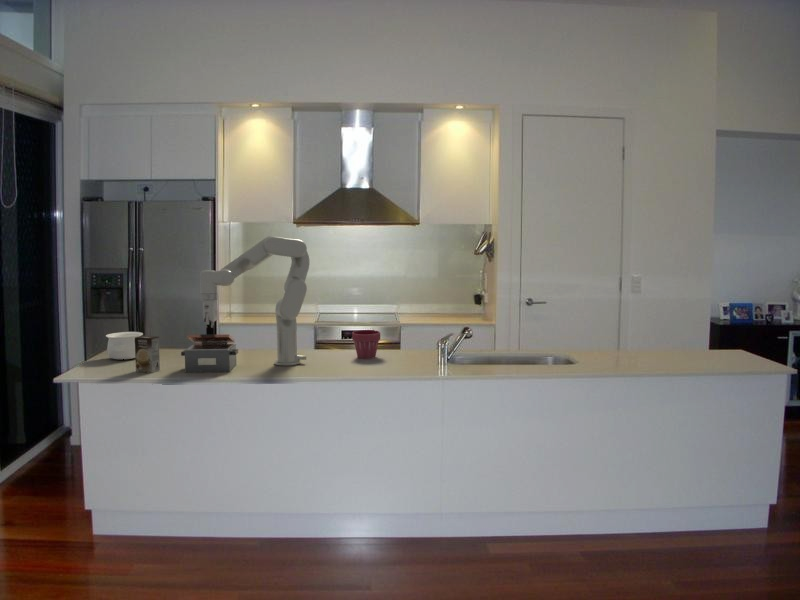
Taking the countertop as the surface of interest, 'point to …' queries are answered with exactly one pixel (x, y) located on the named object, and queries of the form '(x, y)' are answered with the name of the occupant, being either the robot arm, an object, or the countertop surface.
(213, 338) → the lid
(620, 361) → the countertop surface
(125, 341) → the pot
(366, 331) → the plant pot
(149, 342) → the coffee box
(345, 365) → the countertop surface
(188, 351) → the cooker base
